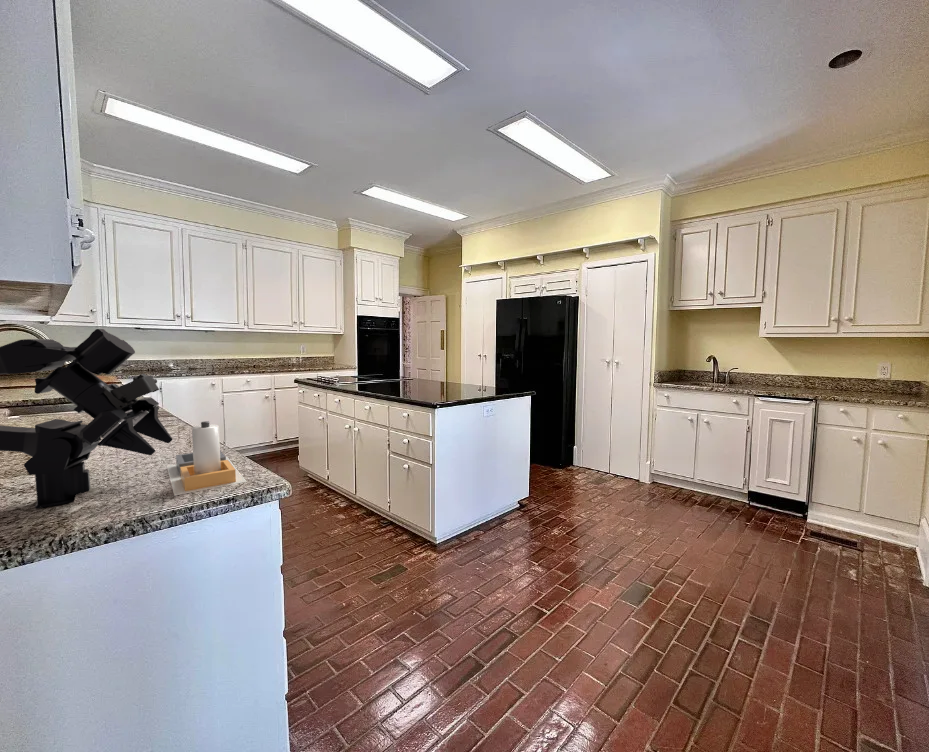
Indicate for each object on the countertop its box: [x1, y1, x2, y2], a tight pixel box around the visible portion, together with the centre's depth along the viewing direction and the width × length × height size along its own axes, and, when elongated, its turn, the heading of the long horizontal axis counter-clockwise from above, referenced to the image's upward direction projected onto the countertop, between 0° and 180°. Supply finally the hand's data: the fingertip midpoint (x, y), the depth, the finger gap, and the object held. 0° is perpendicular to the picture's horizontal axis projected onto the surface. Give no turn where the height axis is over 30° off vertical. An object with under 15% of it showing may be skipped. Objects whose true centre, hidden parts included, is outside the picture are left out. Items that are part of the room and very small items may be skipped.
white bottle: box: [191, 420, 221, 475], centre depth 83 cm, size 5×5×12 cm
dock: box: [166, 449, 247, 496], centre depth 88 cm, size 12×22×4 cm, turn 39°
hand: (162, 447), depth 80 cm, fingers open, 9 cm apart
